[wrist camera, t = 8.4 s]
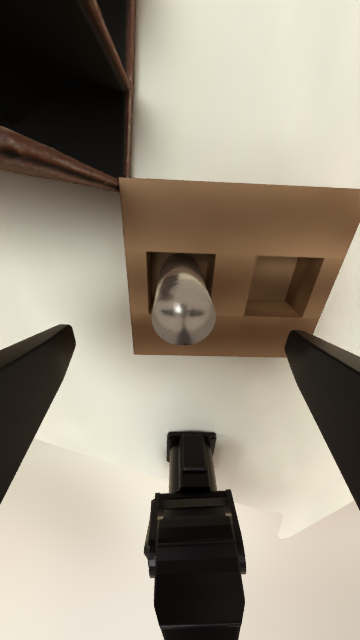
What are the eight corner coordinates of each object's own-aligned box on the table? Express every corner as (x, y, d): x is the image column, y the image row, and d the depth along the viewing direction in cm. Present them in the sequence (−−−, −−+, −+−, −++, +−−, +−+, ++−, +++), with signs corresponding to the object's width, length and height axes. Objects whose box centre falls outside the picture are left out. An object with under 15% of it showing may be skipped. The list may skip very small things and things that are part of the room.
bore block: (284, 334, 21) (302, 357, 18) (140, 331, 20) (134, 354, 17) (333, 190, 15) (373, 189, 12) (130, 181, 14) (118, 177, 11)
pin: (196, 290, 18) (211, 346, 11) (160, 289, 18) (151, 344, 11) (200, 253, 16) (220, 289, 9) (161, 251, 16) (151, 287, 9)
